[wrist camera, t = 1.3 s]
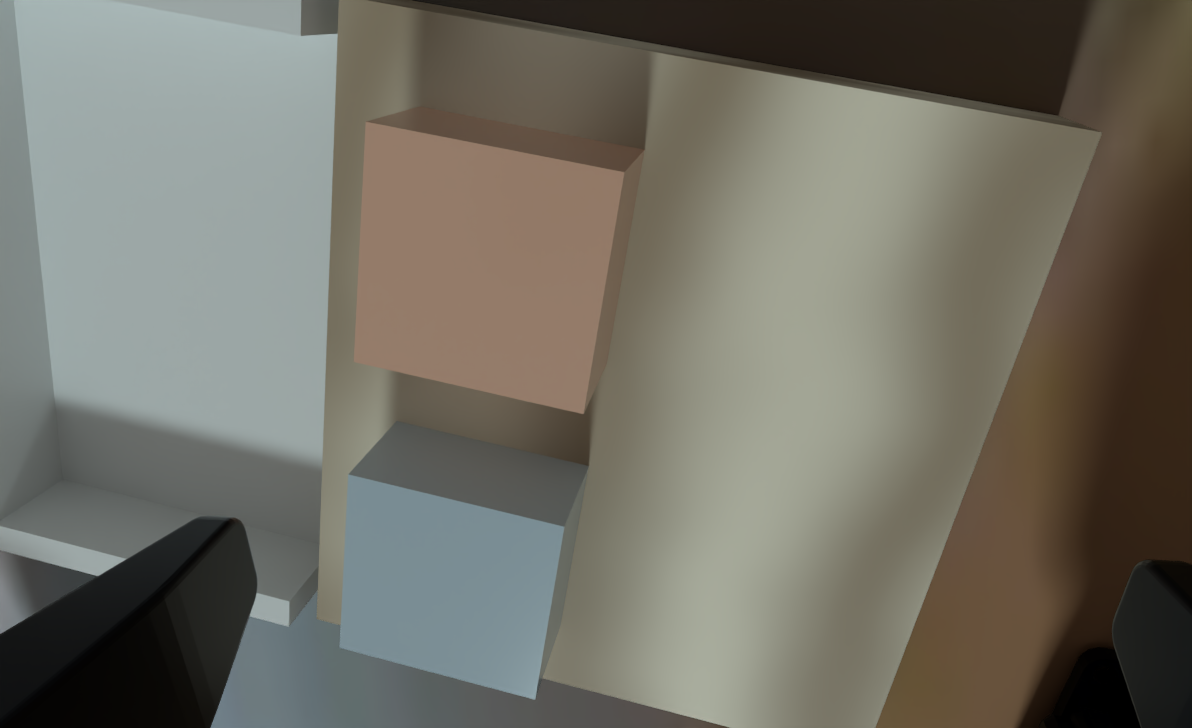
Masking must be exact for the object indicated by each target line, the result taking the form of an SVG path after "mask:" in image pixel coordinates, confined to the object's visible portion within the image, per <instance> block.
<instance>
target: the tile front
mask: <svg viewBox="0 0 1192 728" xmlns="http://www.w3.org/2000/svg"><path fill="white" fill-rule="evenodd" d="M644 151H645V150H644V149H639V148H634V147H628V146H623V145H618V144H613V143H607V142H602V141H597V140H592V139H587V138H581V137H576V136H571V135H566V134H561V133H555V132H550V131H545V130H540V129H535V128H529V127H524V126H519V125H514V124H509V123H503V122H498V121H493V120H488V119H483V118H477V117H472V116H467V115H462V114H457V113H451V112H446V111H441V110H436V109H431V108H425V107H420V106H419V107H416V108H412V109H409V110H405V111H402V112H398V113H395V114H391V115H388V116H384V117H380V118H377V119H373V120H370V121H366V125H365V145H364V165H363V186H362V206H361V226H360V246H359V266H358V286H357V307H356V327H355V347H354V362H356V363H360V364H365V365H369V366H374V367H378V368H382V369H387V370H391V371H396V372H400V373H404V374H409V375H413V376H418V377H422V378H426V379H431V380H435V381H440V382H444V383H448V384H453V385H457V386H462V387H466V388H470V389H475V390H479V391H484V392H488V393H492V394H497V395H501V396H506V397H510V398H514V399H519V400H523V401H527V402H532V403H536V404H541V405H545V406H549V407H554V408H558V409H563V410H567V411H571V412H576V413H580V414H584V412H585V410H586V408H587V406H588V403H589V401H590V399H591V397H592V395H593V393H594V391H595V388H596V386H597V384H598V382H599V380H600V378H601V375H602V373H603V371H604V369H605V367H606V365H607V360H608V355H609V349H610V343H611V338H612V332H613V326H614V321H615V315H616V309H617V304H618V298H619V292H620V287H621V281H622V275H623V270H624V264H625V258H626V253H627V247H628V242H629V236H630V230H631V225H632V219H633V213H634V208H635V202H636V196H637V191H638V185H639V179H640V174H641V168H642V162H643V157H644Z"/></svg>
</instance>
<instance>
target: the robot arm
mask: <svg viewBox="0 0 1192 728" xmlns="http://www.w3.org/2000/svg"><path fill="white" fill-rule="evenodd" d="M257 585H258V583H257V574H256V570H255V566H254V561H253V557H252V553H251V549H250V545H249V541H248V537H247V533H246V530H245V527H244V525H243V523H242V522H241V521H240V520H239V519H237V518H235V517H226V516H200V517H197V518H195V519H193V520H191V521H190V522H188V523H186V524H185V525H183V526H181V527H179V528H178V529H176V530H174V531H173V532H171V533H169V534H168V535H166V536H164V537H163V538H161V539H159V540H158V541H156V542H154V543H153V544H151V545H149V546H148V547H146V548H144V549H143V550H141V551H139V552H138V553H136V554H134V555H132V556H131V557H129V558H127V559H126V560H124V561H122V562H121V563H119V564H117V565H116V566H114V567H112V568H111V569H109V570H107V571H106V572H104V573H102V574H101V575H99V576H97V577H96V578H94V579H92V580H91V581H89V582H87V583H85V584H84V585H82V586H80V587H79V588H77V589H75V590H74V591H72V592H70V593H69V594H67V595H65V596H64V597H62V598H60V599H59V600H57V601H55V602H54V603H52V604H50V605H49V606H47V607H45V608H44V609H42V610H40V611H38V612H37V613H35V614H33V615H32V616H30V617H28V618H27V619H25V620H23V621H22V622H20V623H18V624H17V625H15V626H13V627H12V628H10V629H8V630H7V631H5V632H3V633H1V634H0V728H210V727H211V725H212V722H213V719H214V717H215V714H216V711H217V709H218V706H219V703H220V700H221V697H222V694H223V691H224V688H225V685H226V683H227V680H228V677H229V674H230V671H231V668H232V665H233V662H234V660H235V657H236V654H237V651H238V648H239V645H240V642H241V639H242V637H243V634H244V631H245V628H246V625H247V622H248V619H249V616H250V613H251V611H252V608H253V605H254V602H255V598H256V594H257ZM1112 638H1113V644H1114V648H1115V650H1113V649H1109V648H1100V647H1098V648H1093V649H1089V650H1087V651H1086V652H1084V653H1082V655H1081V656H1080V657H1079V658H1078V660H1077V662H1076V664H1075V666H1074V669H1073V671H1072V673H1071V675H1070V677H1069V679H1068V681H1067V683H1066V685H1065V687H1064V689H1063V691H1062V693H1061V695H1060V697H1059V699H1058V702H1057V704H1056V706H1055V708H1054V710H1053V712H1052V714H1051V715H1049V716H1047V717H1046V718H1045V719H1044V720H1042V722H1041V723H1040V726H1039V728H1192V565H1191V564H1189V563H1186V562H1182V561H1168V560H1144V561H1141V562H1139V563H1138V564H1137V565H1136V566H1135V567H1134V569H1133V570H1132V572H1131V575H1130V578H1129V580H1128V583H1127V585H1126V588H1125V590H1124V593H1123V596H1122V598H1121V601H1120V603H1119V606H1118V609H1117V611H1116V614H1115V616H1114V620H1113V625H1112ZM1101 667H1109V668H1108V669H1107V670H1106V671H1103V672H1095V671H1096V670H1097V669H1098V668H1101Z"/></svg>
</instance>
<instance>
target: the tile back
mask: <svg viewBox="0 0 1192 728" xmlns="http://www.w3.org/2000/svg"><path fill="white" fill-rule="evenodd" d="M588 468H589V466H587V465H583V464H578V463H574V462H570V461H565V460H561V459H557V458H553V457H548V456H544V455H540V454H536V453H531V452H527V451H523V450H518V449H514V448H510V447H506V446H501V445H497V444H493V443H488V442H484V441H480V440H476V439H471V438H467V437H463V436H459V435H454V434H450V433H446V432H441V431H437V430H433V429H429V428H424V427H420V426H416V425H411V424H407V423H403V422H399V421H396V422H395V423H394V424H393V426H392V427H391V428H390V429H389V430H388V431H387V432H386V433H385V434H384V436H383V437H382V438H381V439H380V440H379V441H378V442H377V443H376V444H375V445H374V447H373V448H372V449H371V450H370V451H369V452H368V453H367V454H366V455H365V456H364V458H363V459H362V460H361V461H360V462H359V463H358V464H357V465H356V466H355V467H354V469H353V470H352V471H351V472H350V473H349V474H348V488H347V508H346V529H345V549H344V569H343V589H342V609H341V629H340V648H342V649H346V650H350V651H354V652H358V653H361V654H365V655H369V656H373V657H376V658H380V659H384V660H388V661H391V662H395V663H399V664H403V665H407V666H410V667H414V668H418V669H422V670H425V671H429V672H433V673H437V674H440V675H444V676H448V677H452V678H456V679H459V680H463V681H467V682H471V683H474V684H478V685H482V686H486V687H489V688H493V689H497V690H501V691H505V692H508V693H512V694H516V695H520V696H523V697H527V698H531V699H536V696H537V693H538V690H539V687H540V684H541V681H542V678H543V675H544V672H545V670H546V667H547V664H548V661H549V658H550V655H551V652H552V649H553V646H554V643H555V640H556V637H557V635H558V632H559V629H560V626H561V621H562V615H563V609H564V604H565V598H566V592H567V587H568V581H569V575H570V570H571V564H572V558H573V553H574V547H575V541H576V536H577V530H578V524H579V519H580V513H581V507H582V502H583V496H584V490H585V485H586V479H587V473H588Z"/></svg>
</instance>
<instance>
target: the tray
mask: <svg viewBox="0 0 1192 728" xmlns="http://www.w3.org/2000/svg"><path fill="white" fill-rule="evenodd" d="M338 9H339V0H0V550H1V551H5V552H8V553H12V554H16V555H20V556H24V557H27V558H31V559H35V560H39V561H43V562H46V563H50V564H54V565H58V566H61V567H65V568H69V569H73V570H77V571H80V572H84V573H88V574H92V575H95V576H99V575H101V574H102V573H104V572H106V571H107V570H109V569H111V568H112V567H114V566H116V565H117V564H119V563H121V562H122V561H124V560H126V559H127V558H129V557H131V556H132V555H134V554H136V553H138V552H139V551H141V550H143V549H144V548H146V547H148V546H149V545H151V544H153V543H154V542H156V541H158V540H159V539H161V538H163V537H164V536H166V535H168V534H169V533H171V532H173V531H174V530H176V529H178V528H179V527H181V526H183V525H185V524H186V523H188V522H190V521H191V520H193V519H195V518H197V517H200V516H226V517H235V518H237V519H239V520H240V521H241V522H242V523H243V525H244V527H245V530H246V533H247V537H248V541H249V545H250V549H251V553H252V557H253V561H254V566H255V570H256V574H257V583H258V585H257V594H256V598H255V602H254V605H253V608H252V611H251V613H250V616H251V617H254V618H258V619H262V620H266V621H269V622H273V623H277V624H281V625H285V626H288V627H289V626H290V625H291V623H292V622H293V621H294V620H295V618H296V617H297V616H298V614H299V613H300V612H301V611H302V609H303V608H304V607H305V605H306V604H307V603H308V602H309V600H310V599H311V598H312V596H313V595H314V594H315V593H316V591H317V590H318V571H319V543H320V515H321V486H322V458H323V430H324V402H325V374H326V346H327V318H328V290H329V262H330V234H331V206H332V178H333V150H334V121H335V93H336V65H337V37H338Z"/></svg>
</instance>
